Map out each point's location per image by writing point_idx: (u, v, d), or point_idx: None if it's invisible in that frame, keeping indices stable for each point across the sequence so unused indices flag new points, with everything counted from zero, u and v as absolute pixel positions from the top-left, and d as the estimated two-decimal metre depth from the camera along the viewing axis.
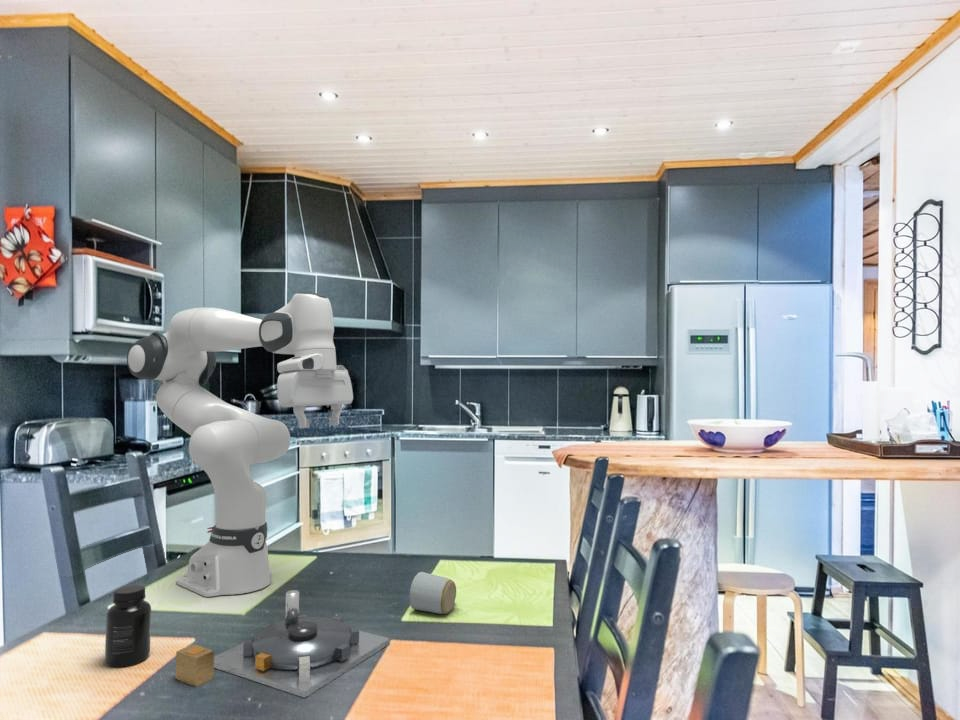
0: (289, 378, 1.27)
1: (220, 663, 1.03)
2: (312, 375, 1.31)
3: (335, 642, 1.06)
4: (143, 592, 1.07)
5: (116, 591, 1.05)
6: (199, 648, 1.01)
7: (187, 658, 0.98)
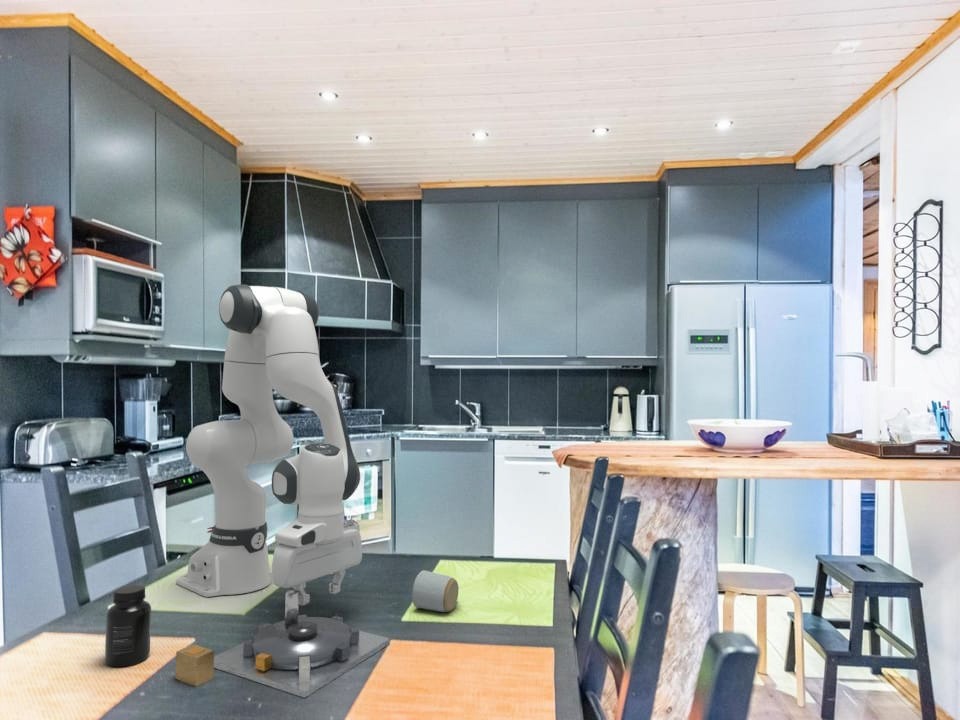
0: (285, 556, 1.12)
1: (220, 663, 1.03)
2: (313, 548, 1.16)
3: (335, 642, 1.06)
4: (143, 592, 1.07)
5: (116, 591, 1.05)
6: (199, 648, 1.01)
7: (187, 658, 0.98)
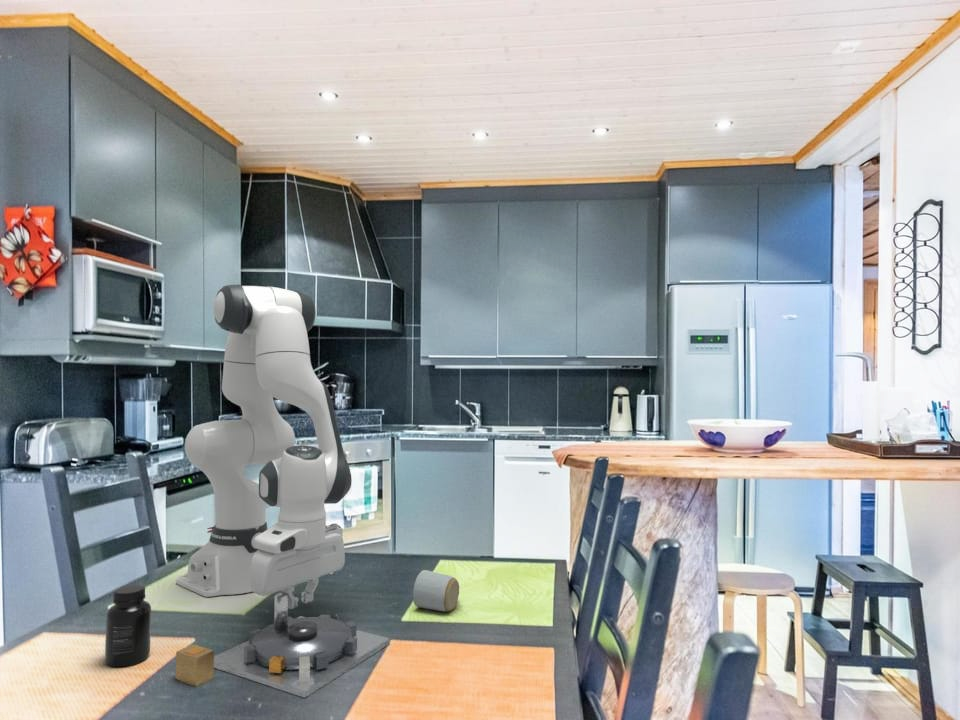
0: (263, 563, 1.09)
1: (220, 663, 1.03)
2: (293, 554, 1.12)
3: (341, 637, 1.08)
4: (143, 592, 1.07)
5: (116, 591, 1.05)
6: (199, 648, 1.01)
7: (187, 658, 0.98)
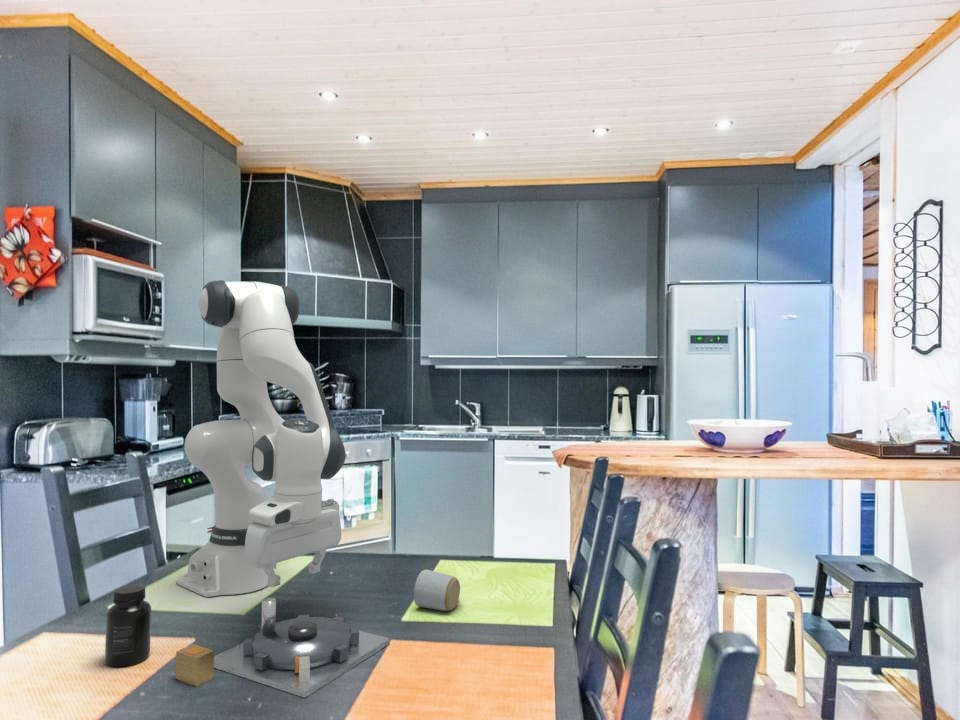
0: (258, 535, 1.08)
1: (220, 663, 1.03)
2: (288, 527, 1.12)
3: (342, 630, 1.11)
4: (143, 592, 1.07)
5: (116, 591, 1.05)
6: (199, 648, 1.01)
7: (187, 658, 0.98)
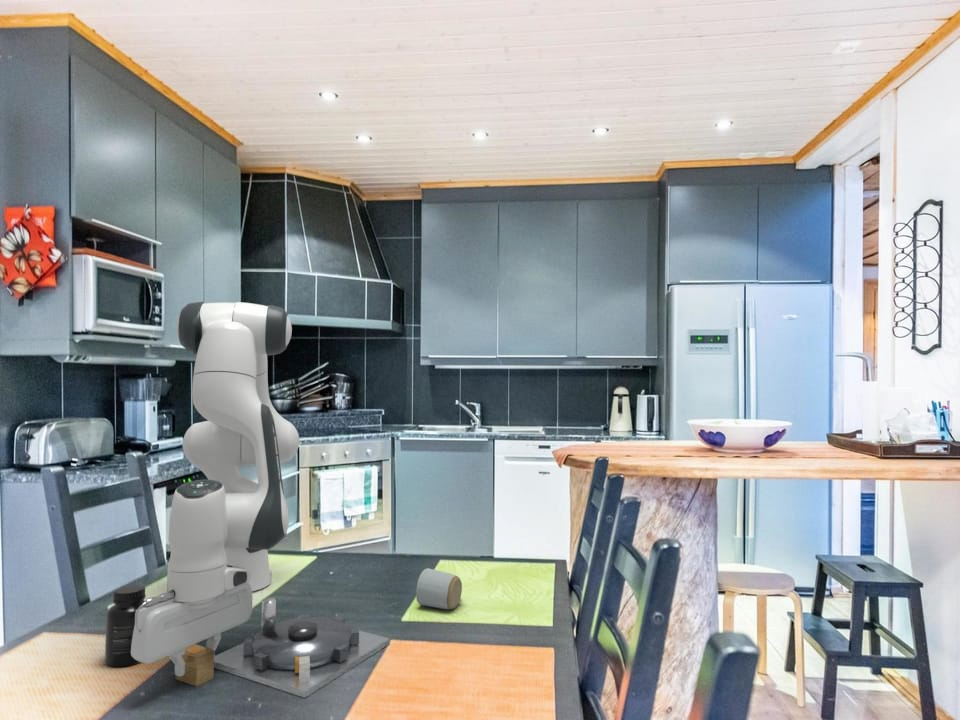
0: None
1: (220, 663, 1.03)
2: None
3: (342, 630, 1.11)
4: (143, 592, 1.07)
5: (116, 591, 1.05)
6: (199, 647, 1.01)
7: (187, 658, 0.98)
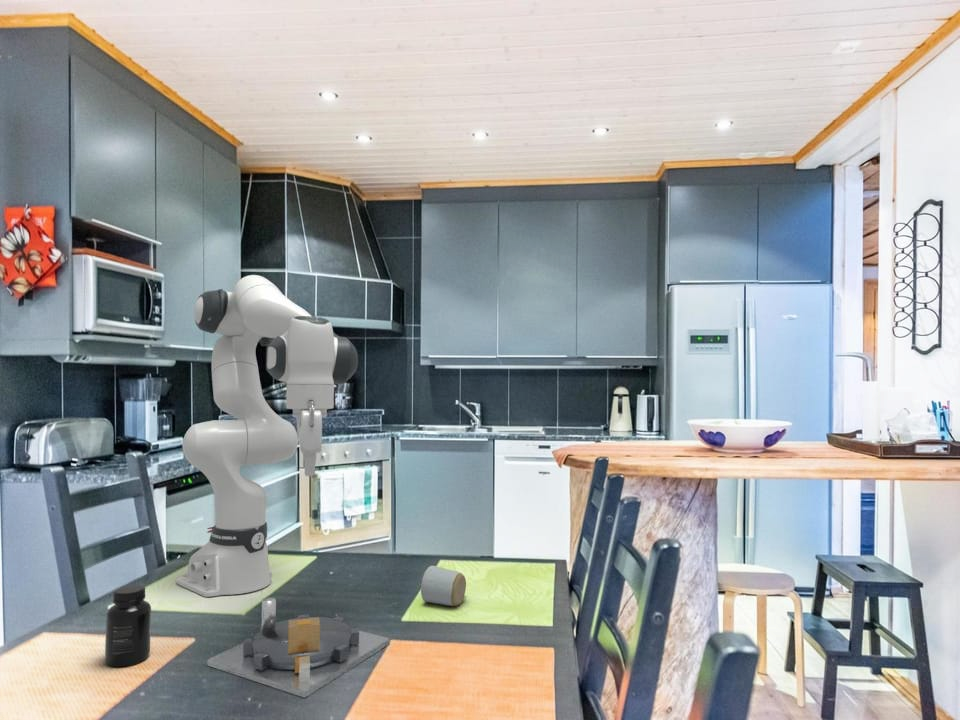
0: None
1: (220, 663, 1.03)
2: None
3: (342, 630, 1.11)
4: (143, 592, 1.07)
5: (116, 591, 1.05)
6: (303, 620, 1.04)
7: (306, 629, 1.02)
